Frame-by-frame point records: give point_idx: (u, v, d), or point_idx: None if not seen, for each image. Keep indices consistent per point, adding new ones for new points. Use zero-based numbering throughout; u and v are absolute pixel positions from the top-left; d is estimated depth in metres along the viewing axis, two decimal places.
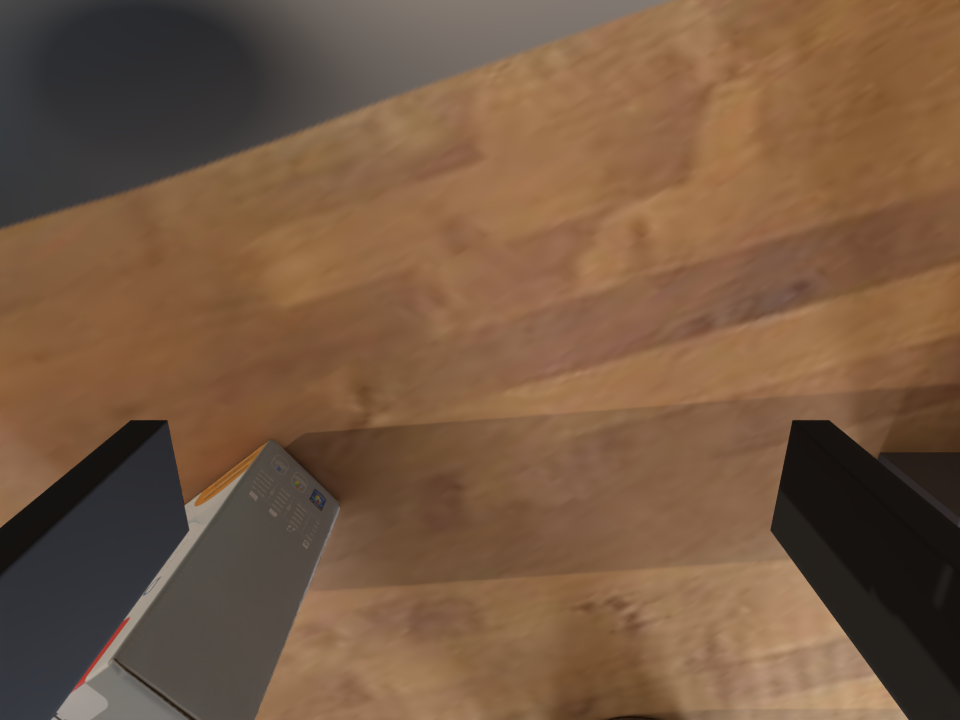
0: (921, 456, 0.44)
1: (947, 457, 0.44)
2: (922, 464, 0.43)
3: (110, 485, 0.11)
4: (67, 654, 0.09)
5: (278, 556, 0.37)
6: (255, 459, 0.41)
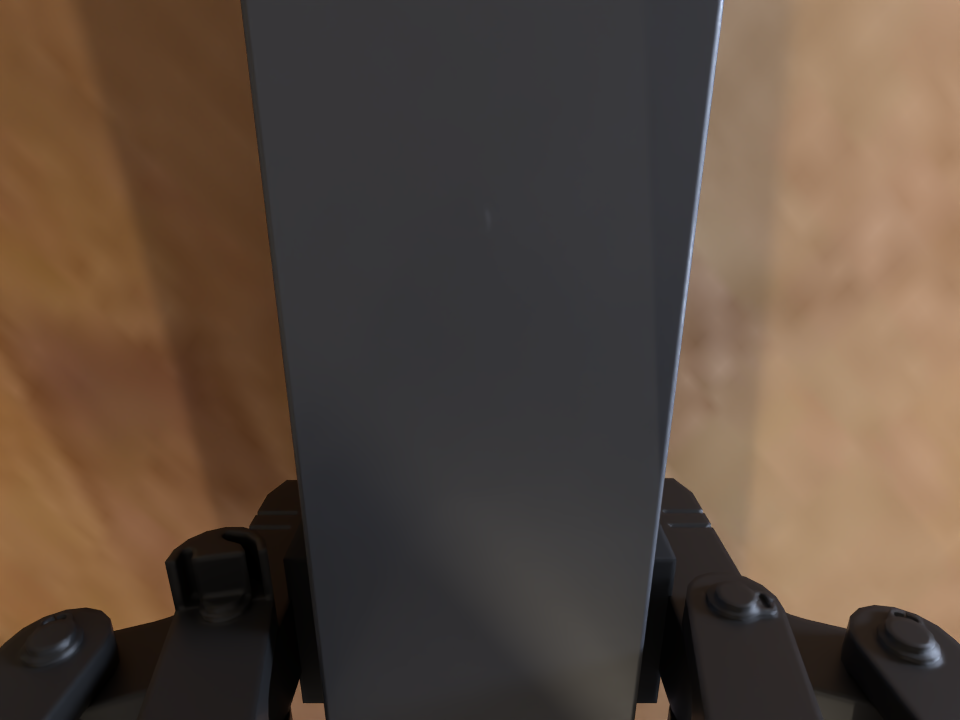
0: None
1: None
2: None
3: None
4: None
5: None
6: None
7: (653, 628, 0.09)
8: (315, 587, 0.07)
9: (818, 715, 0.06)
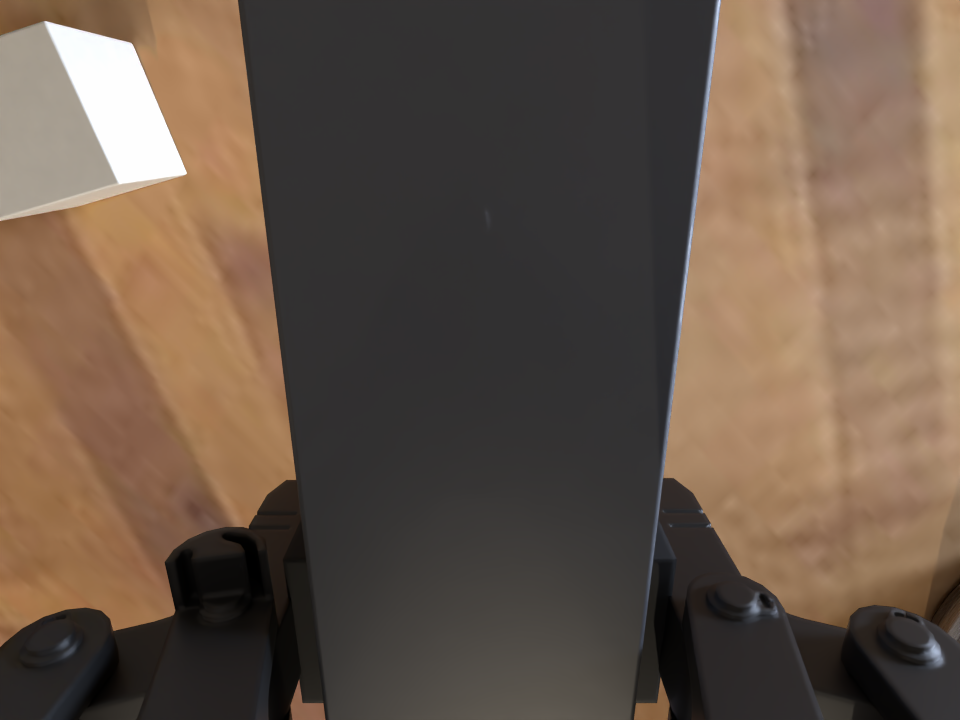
0: None
1: None
2: None
3: None
4: None
5: None
6: None
7: (653, 628, 0.09)
8: (314, 585, 0.07)
9: (819, 715, 0.06)
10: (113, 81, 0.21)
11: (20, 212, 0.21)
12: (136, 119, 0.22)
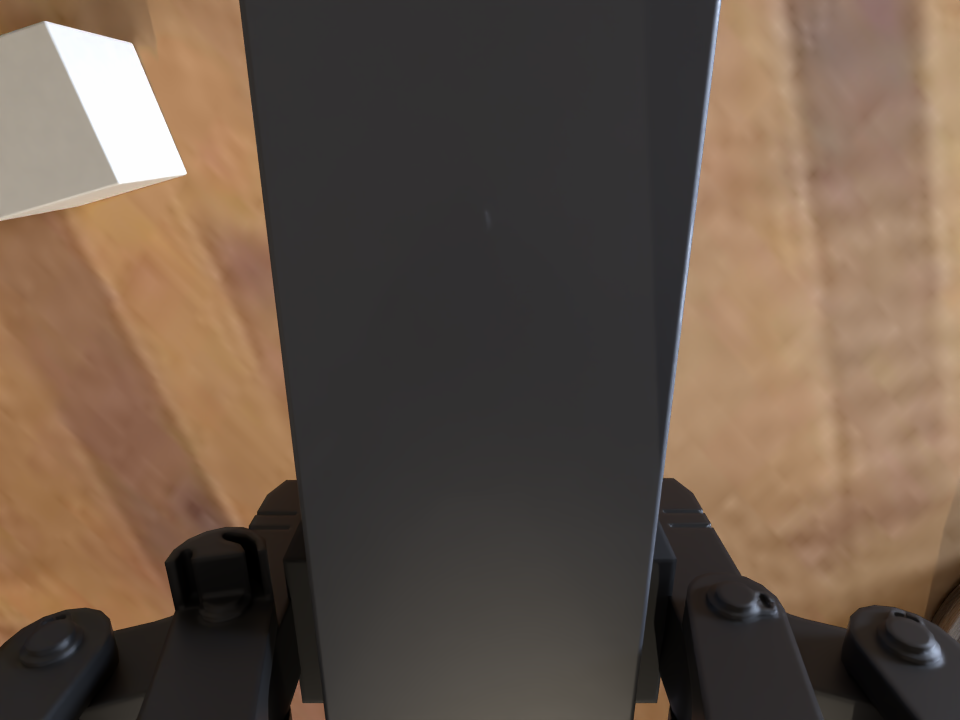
0: None
1: None
2: None
3: None
4: None
5: None
6: None
7: (653, 628, 0.09)
8: (314, 584, 0.07)
9: (819, 715, 0.06)
10: (113, 80, 0.21)
11: (20, 212, 0.21)
12: (136, 119, 0.22)
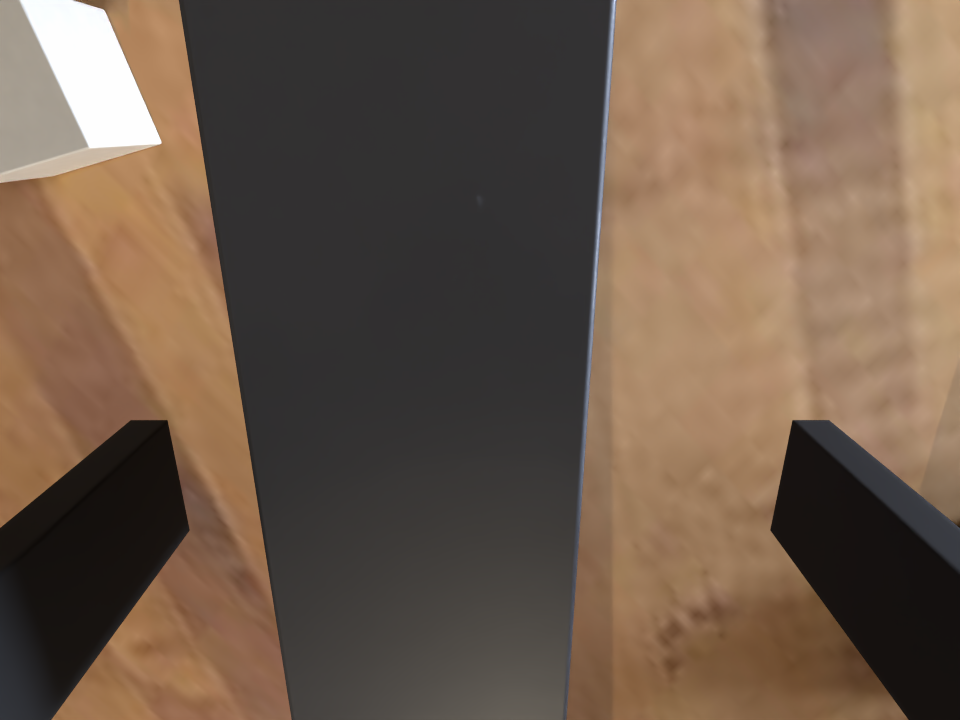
0: None
1: None
2: None
3: (110, 484, 0.11)
4: (67, 654, 0.09)
5: None
6: None
7: None
8: (258, 481, 0.07)
9: None
10: (83, 45, 0.21)
11: None
12: (108, 85, 0.22)
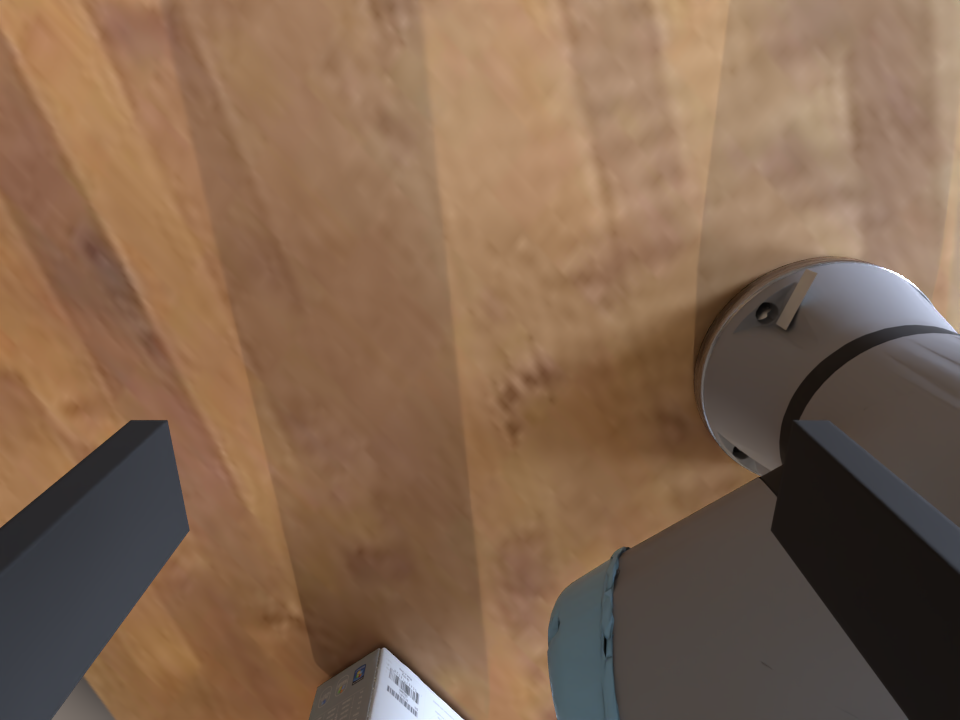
0: None
1: None
2: None
3: (110, 484, 0.11)
4: (67, 654, 0.09)
5: None
6: None
7: None
8: None
9: None
10: None
11: None
12: None
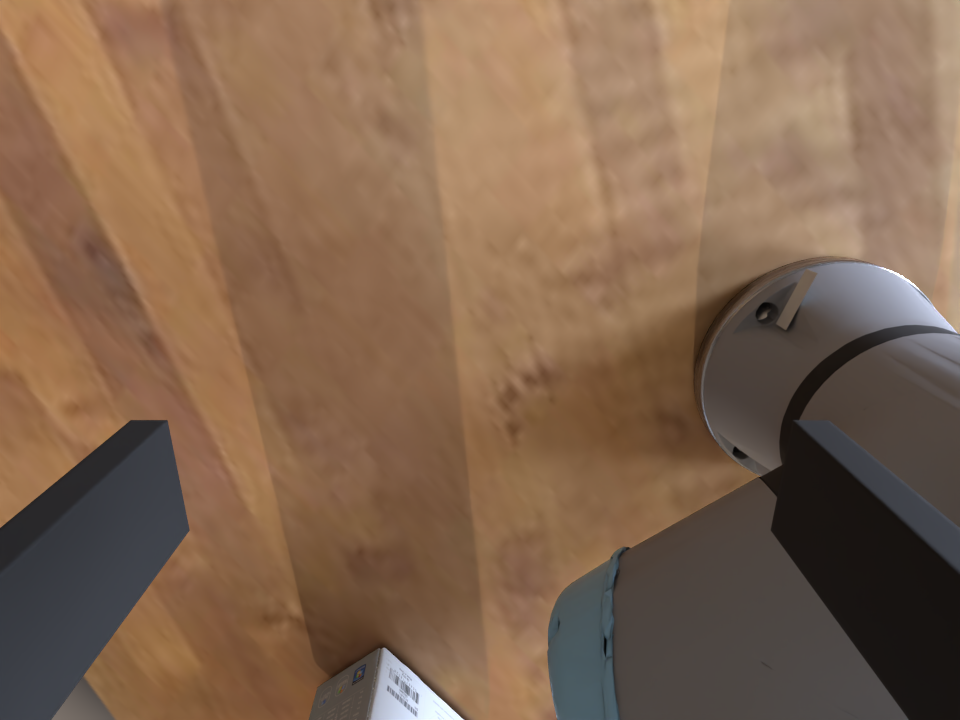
0: None
1: None
2: None
3: (110, 484, 0.11)
4: (67, 654, 0.09)
5: None
6: None
7: None
8: None
9: None
10: None
11: None
12: None
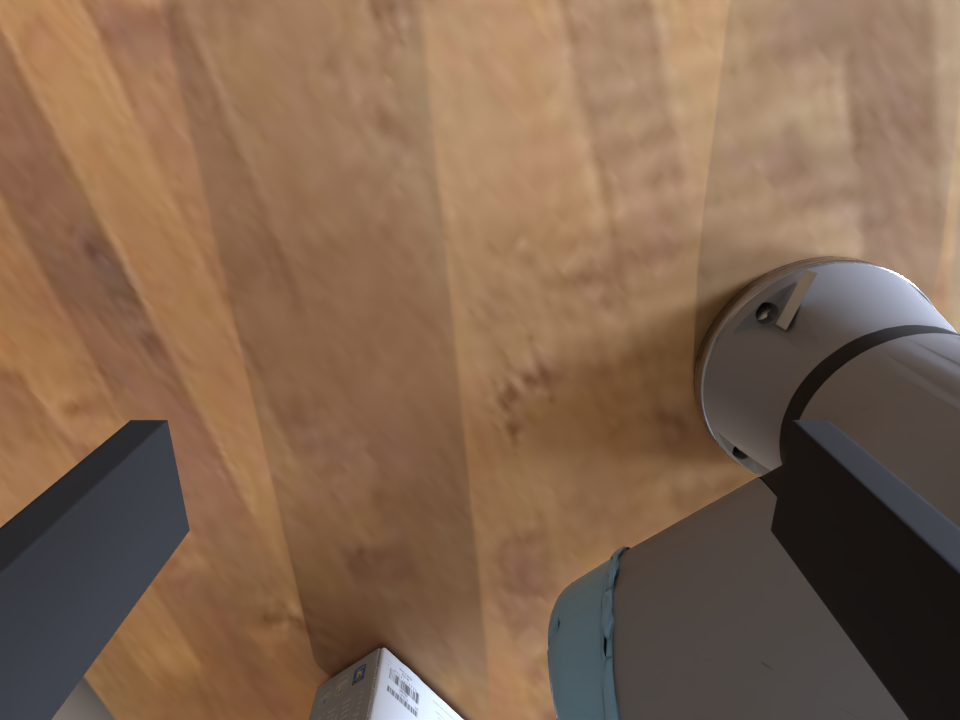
0: None
1: None
2: None
3: (110, 484, 0.11)
4: (67, 654, 0.09)
5: None
6: None
7: None
8: None
9: None
10: None
11: None
12: None
